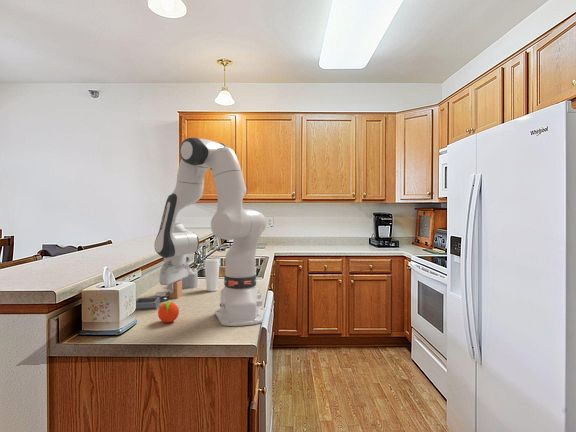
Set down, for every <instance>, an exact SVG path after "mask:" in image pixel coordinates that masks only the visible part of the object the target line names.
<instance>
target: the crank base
mask: <svg viewBox="0 0 576 432" xmlns="http://www.w3.org/2000/svg"><path fill="white" fill-rule="evenodd" d="M165 302H169V295H167V296H166V297H164V298H160V303H165Z"/></svg>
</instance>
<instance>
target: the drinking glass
mask: <svg viewBox="0 0 576 432" xmlns="http://www.w3.org/2000/svg"><path fill="white" fill-rule="evenodd" d="M204 271H205V272H204V273H205V283H206V291H207V292H217V291H218V290H219V278H220V277H219V275H220V259H219V258H214V257H213V258H205V260H204Z"/></svg>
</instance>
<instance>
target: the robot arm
mask: <svg viewBox="0 0 576 432" xmlns="http://www.w3.org/2000/svg"><path fill="white" fill-rule="evenodd" d="M179 155H180V158H181V159H180V161H179V164H178V169H177V175H176V184H175V187H174V189H173V192H172V193H170V194H169V195H168V197H167V199H166V201H165V205H164V209H163V213H162V216H161V222H160V225H159V229H158V233H157V235H156V238H155V240H154V250H155V252H156V253H157V255H158V256H160V257H161V258H163V265H162V266H161V268H160V269H159V281H158V282H159V285H161V286H167V288H168V289H169V293H173V292H174V288H173V283H174V282H176V281H182V279H183V278H185V277H188V274H189V268H190V263H189V262H190V256H189V255H191V254H195V253H197V251H198V249H199V246H200V238H199V236H198V235H197V234H196V233H195V232H193V231H190V230H188V229H186V228H185V225H184V224H183V223H176V220H177V216H178V215H179V214H178V213H179V212H180V211H182V210H183V209H184V208H186V207H189V206H191V205H193V204H195V203H197V202H198V201H199V200H200V199H201V198H202V197H203V193H204V187H205V174H206V172H207V171H208V170H211V173H212V177H213V180H214V185H215V190H216V194H217V206H216V212H215V213H214V215H212V217H211V220H210V221H211V222H210V229H211V232H212V234H213V236H215V237H216V238H218V239H222V240H228V241H231V240H233V241H232V244H231V246H230V248H229V250H228V251H227V252H226V254H225V258H224V259H225V268H224V269H225V271H224V272H225V275H224V279H223V284H224V287H223V288H222V289H221V290H220V294H219V295H220V297H219V298H220V302H219V308H220V309H216V310H215V311H214V314H215V316H216V318H217V320H218V321H219V322H220V325H222V326H227V327H228V326H229V327H230V326H231V327H236V326H237V327H238V326H239V327H241V326H243V327H244V326H253V325H257V324H261V323H263V321H264V317H265V313H266V308H265V307H264V306H263V300H262V299H261V298H262V294H260V293H261V291H260V288H259V287H258V286H257V274H256V253H257V252H256V251H257V247H258V244H259V240H260V238H261V235H262V234H263V233H264V231H265V230H266V227H267V221H266V220H267V219H266V217H265V216H264V214H263V213H262V212H260V211H257V210H254V209H244V206H243V199H244V197H245V196H246V194H247V187H246V183H245V179H244V175H243V174H244V173H243V170H242V167H241V164H240V161H239V159H238V157H237V154H236V153H235V150H234V149H232V148H231V147H229V146H228V145H226V144H224V143H222V142H218V141H214V140H211V139H207V138H198V137H187V138H185V139H184V140H183V141H182V142H181V143H180V148H179Z"/></svg>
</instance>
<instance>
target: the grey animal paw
mask: <svg viewBox="0 0 576 432" xmlns="http://www.w3.org/2000/svg"><path fill="white" fill-rule="evenodd" d="M198 280H199V278H198V270H197V269H196V268H193V269H192V268H191V267H189V274H188V277H185V278H183V279H182V290H185V289H195V288H198V283H199V282H198Z"/></svg>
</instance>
